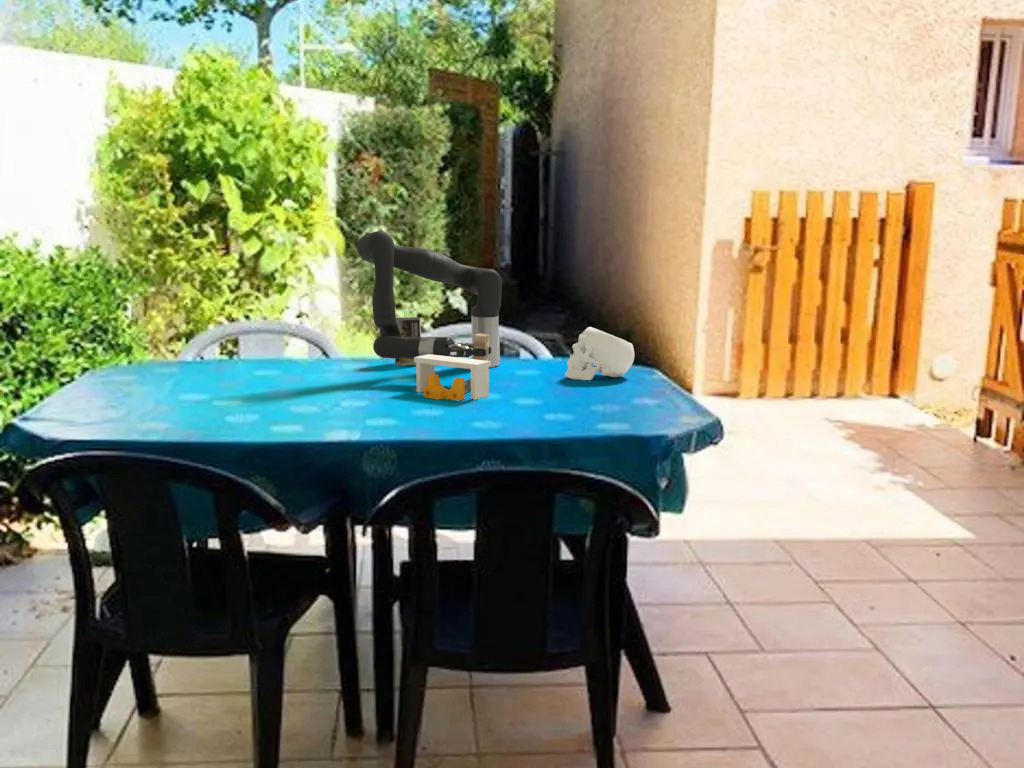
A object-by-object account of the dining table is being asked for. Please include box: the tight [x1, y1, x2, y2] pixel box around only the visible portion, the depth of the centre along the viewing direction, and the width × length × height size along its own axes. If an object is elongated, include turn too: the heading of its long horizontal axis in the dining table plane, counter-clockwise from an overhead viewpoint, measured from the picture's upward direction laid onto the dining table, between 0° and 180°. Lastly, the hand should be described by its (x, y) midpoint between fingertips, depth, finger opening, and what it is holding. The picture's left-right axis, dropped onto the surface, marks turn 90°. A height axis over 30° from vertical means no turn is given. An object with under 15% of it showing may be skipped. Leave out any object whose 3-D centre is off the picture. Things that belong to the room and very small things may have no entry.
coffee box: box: [394, 316, 422, 367], centre depth 351 cm, size 9×6×16 cm
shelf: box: [414, 354, 491, 401], centre depth 302 cm, size 7×23×10 cm, turn 57°
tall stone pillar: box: [464, 333, 490, 394], centre depth 305 cm, size 20×4×16 cm, turn 160°
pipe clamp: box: [423, 373, 466, 402], centre depth 297 cm, size 12×4×6 cm, turn 52°
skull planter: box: [564, 326, 635, 381], centre depth 328 cm, size 14×20×19 cm
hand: (488, 351), depth 312 cm, fingers open, 4 cm apart
